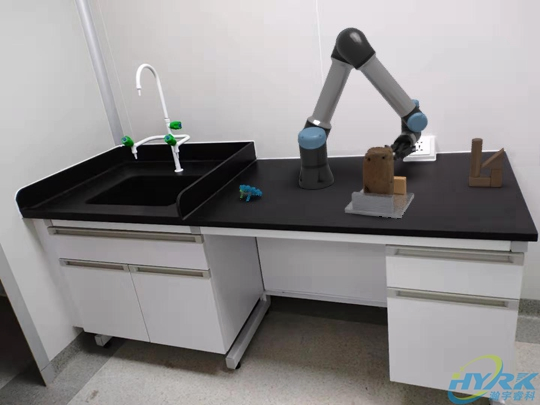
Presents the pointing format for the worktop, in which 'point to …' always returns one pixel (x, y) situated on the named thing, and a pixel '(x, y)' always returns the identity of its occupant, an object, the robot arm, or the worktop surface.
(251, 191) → the blue bumpy figure
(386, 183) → the block
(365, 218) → the worktop surface
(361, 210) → the base
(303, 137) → the robot arm
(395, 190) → the block
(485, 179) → the wooden block structure
